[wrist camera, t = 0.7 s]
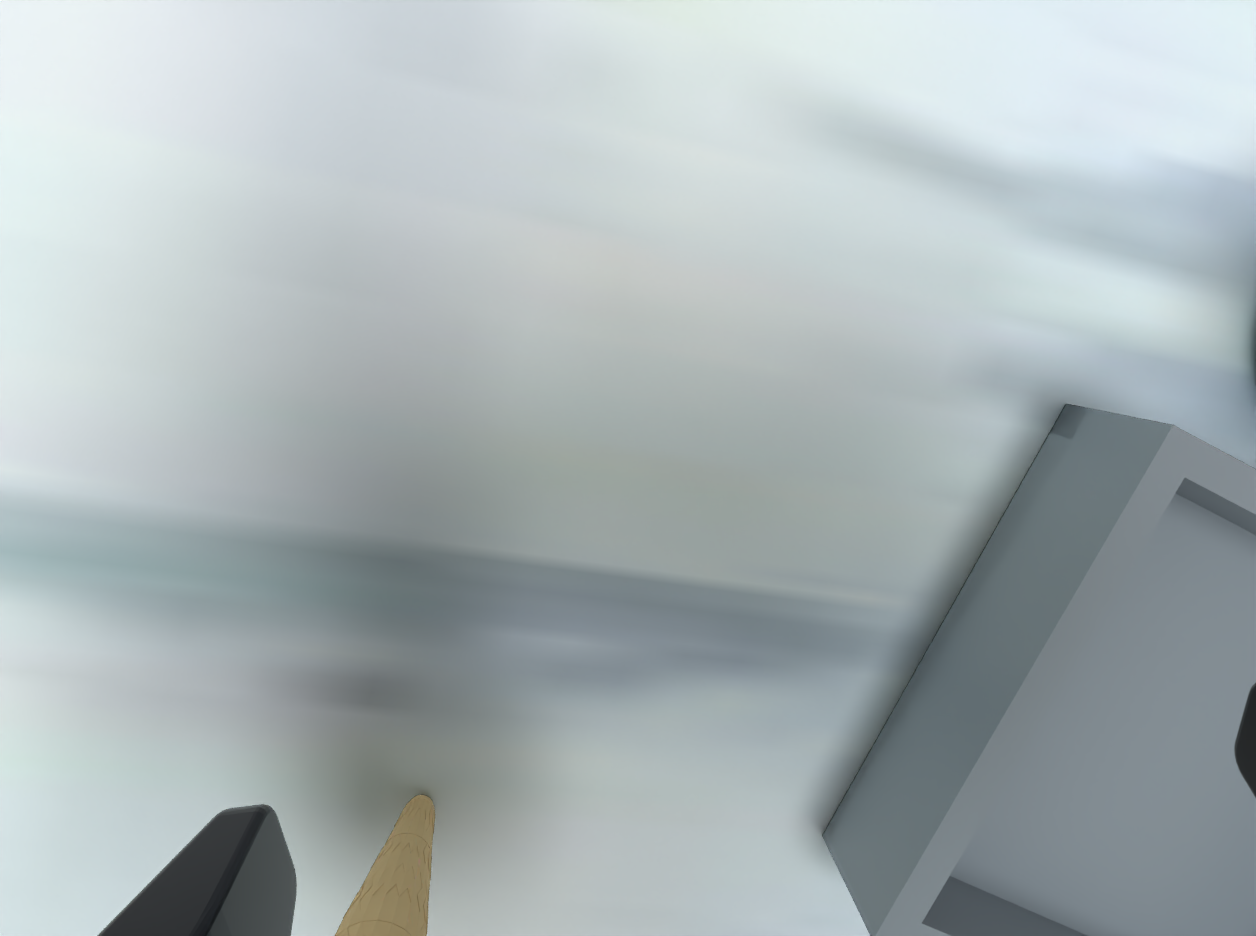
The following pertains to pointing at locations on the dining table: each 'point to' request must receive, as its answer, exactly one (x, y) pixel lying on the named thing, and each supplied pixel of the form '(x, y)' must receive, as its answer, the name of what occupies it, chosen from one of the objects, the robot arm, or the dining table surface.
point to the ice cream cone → (397, 879)
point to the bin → (1077, 710)
